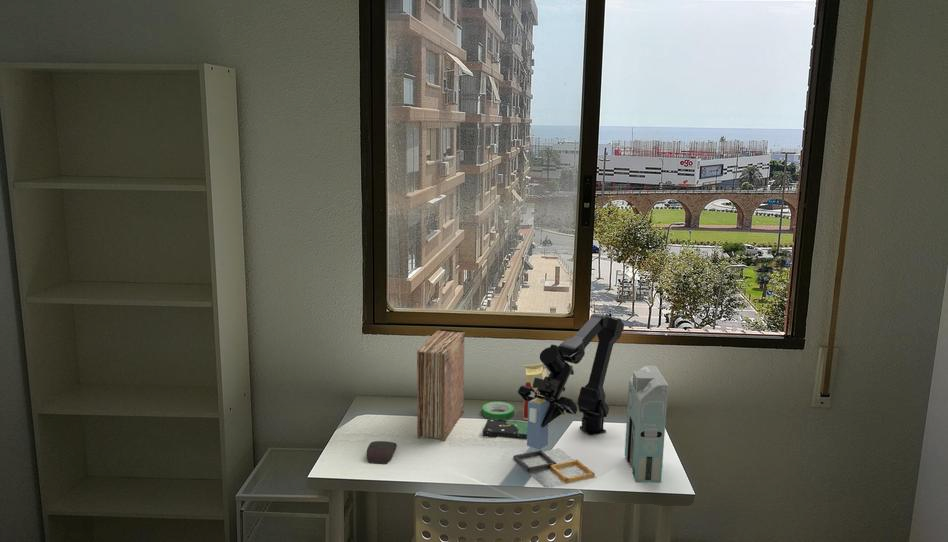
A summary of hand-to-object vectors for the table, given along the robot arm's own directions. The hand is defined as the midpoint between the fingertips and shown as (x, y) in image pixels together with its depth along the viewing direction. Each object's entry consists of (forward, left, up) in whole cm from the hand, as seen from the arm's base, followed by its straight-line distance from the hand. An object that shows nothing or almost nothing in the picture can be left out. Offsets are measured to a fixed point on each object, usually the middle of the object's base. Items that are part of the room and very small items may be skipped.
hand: (535, 424), depth 233 cm
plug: (-1, -1, -7) cm, 7 cm away
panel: (-4, +4, -13) cm, 15 cm away
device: (-29, +15, -14) cm, 35 cm away
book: (+14, -39, -14) cm, 44 cm away
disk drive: (-4, -25, -14) cm, 29 cm away
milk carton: (-19, -33, -14) cm, 41 cm away
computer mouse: (+39, -26, -14) cm, 49 cm away
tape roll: (-8, -40, -14) cm, 43 cm away
